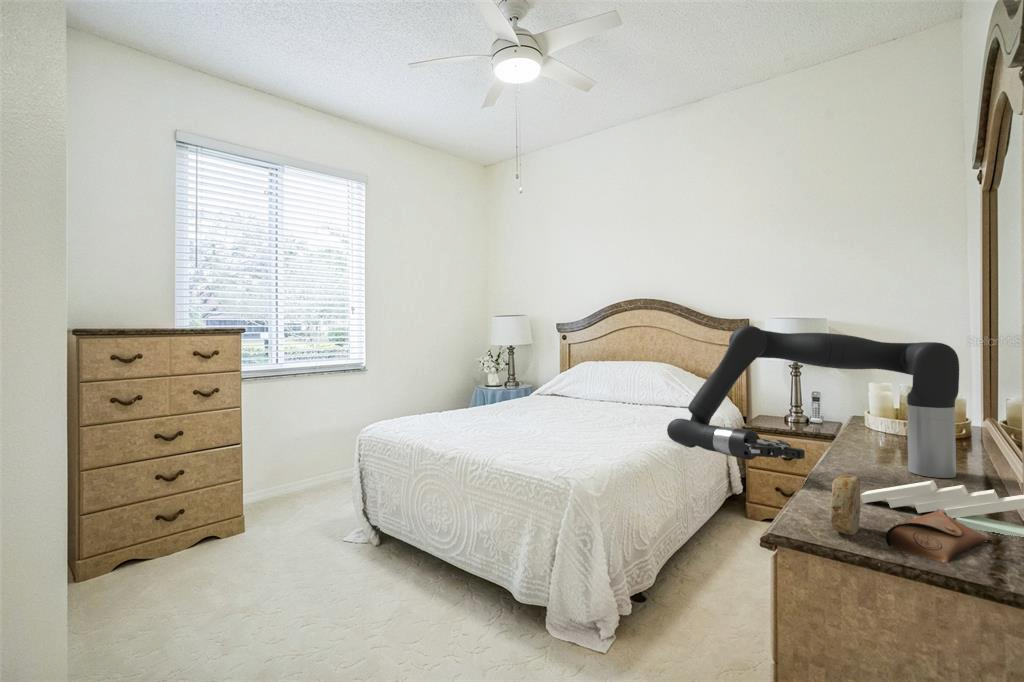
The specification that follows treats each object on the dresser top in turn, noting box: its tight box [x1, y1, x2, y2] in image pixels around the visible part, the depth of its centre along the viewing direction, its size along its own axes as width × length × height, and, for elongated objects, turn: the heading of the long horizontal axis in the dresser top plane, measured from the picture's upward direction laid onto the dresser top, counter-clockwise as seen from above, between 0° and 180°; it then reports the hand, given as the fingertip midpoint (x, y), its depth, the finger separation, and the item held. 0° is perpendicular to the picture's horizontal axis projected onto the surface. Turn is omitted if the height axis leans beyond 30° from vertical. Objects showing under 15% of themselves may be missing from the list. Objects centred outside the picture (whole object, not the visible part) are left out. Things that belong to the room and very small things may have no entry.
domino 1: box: [860, 480, 939, 504], centre depth 100 cm, size 2×5×12 cm
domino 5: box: [955, 515, 1024, 537], centre depth 87 cm, size 2×5×12 cm
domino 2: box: [886, 484, 969, 509], centre depth 97 cm, size 2×5×12 cm
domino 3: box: [913, 488, 1000, 514], centre depth 94 cm, size 2×5×12 cm
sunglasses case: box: [884, 509, 991, 564], centre depth 83 cm, size 18×7×7 cm
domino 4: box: [944, 494, 1024, 519], centre depth 90 cm, size 2×5×12 cm
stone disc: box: [829, 474, 862, 536], centre depth 88 cm, size 10×4×10 cm, turn 135°
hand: (802, 454), depth 116 cm, fingers closed
